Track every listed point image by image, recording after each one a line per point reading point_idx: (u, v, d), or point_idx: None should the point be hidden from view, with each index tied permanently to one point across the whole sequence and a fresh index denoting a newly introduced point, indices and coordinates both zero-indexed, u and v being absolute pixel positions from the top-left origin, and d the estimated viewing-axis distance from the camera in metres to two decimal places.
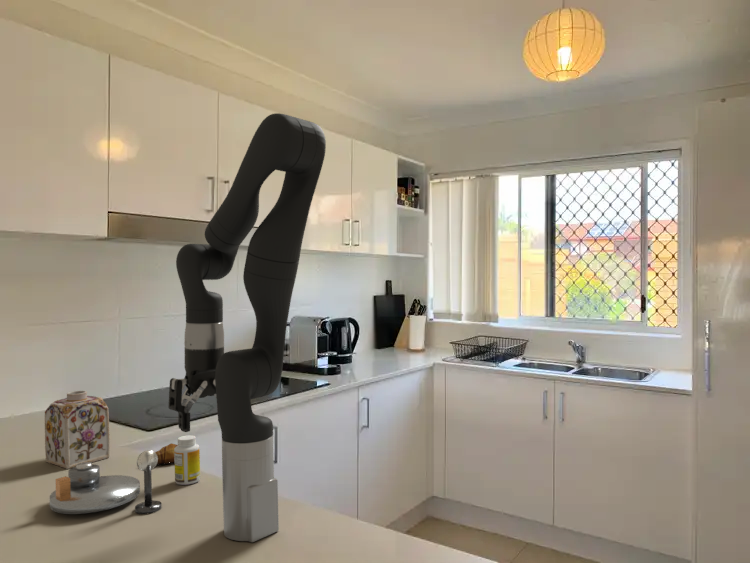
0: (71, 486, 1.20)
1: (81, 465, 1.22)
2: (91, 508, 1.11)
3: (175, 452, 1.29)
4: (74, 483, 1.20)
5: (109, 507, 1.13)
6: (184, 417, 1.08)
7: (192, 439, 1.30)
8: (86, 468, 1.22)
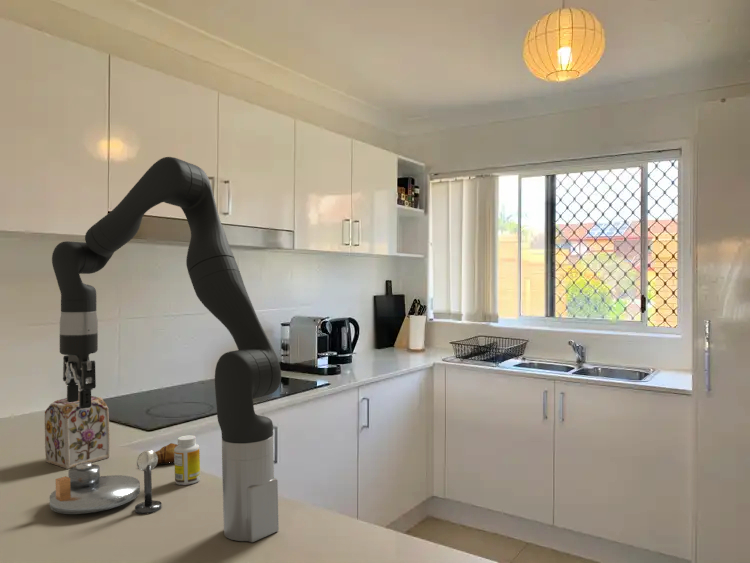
0: (71, 486, 1.20)
1: (81, 465, 1.22)
2: (91, 508, 1.11)
3: (175, 452, 1.29)
4: (74, 483, 1.20)
5: (109, 507, 1.13)
6: None
7: (192, 439, 1.30)
8: (86, 468, 1.22)
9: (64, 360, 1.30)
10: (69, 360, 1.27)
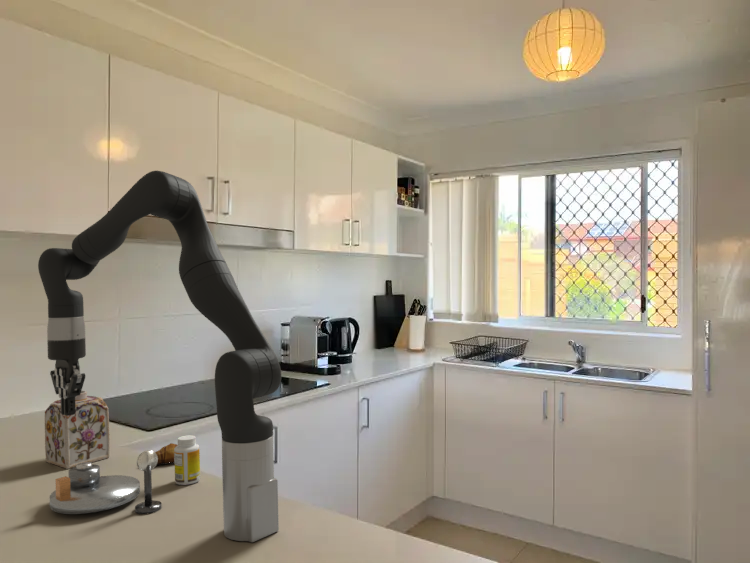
0: (71, 486, 1.20)
1: (81, 465, 1.22)
2: (91, 508, 1.11)
3: (175, 452, 1.29)
4: (74, 483, 1.20)
5: (109, 507, 1.13)
6: None
7: (192, 439, 1.30)
8: (86, 468, 1.22)
9: (52, 375, 1.30)
10: None
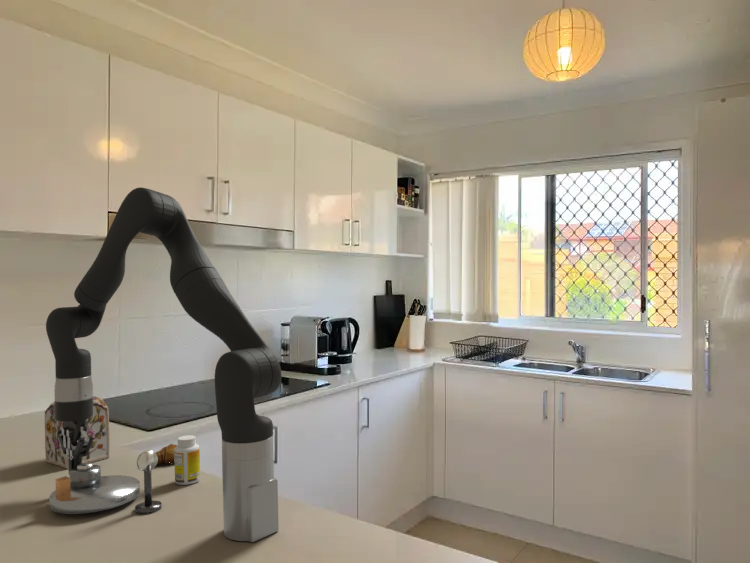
0: (72, 486, 1.20)
1: (82, 465, 1.22)
2: (91, 508, 1.11)
3: (175, 452, 1.29)
4: (75, 484, 1.19)
5: (109, 507, 1.13)
6: None
7: (192, 439, 1.30)
8: (87, 468, 1.21)
9: (59, 434, 1.28)
10: None
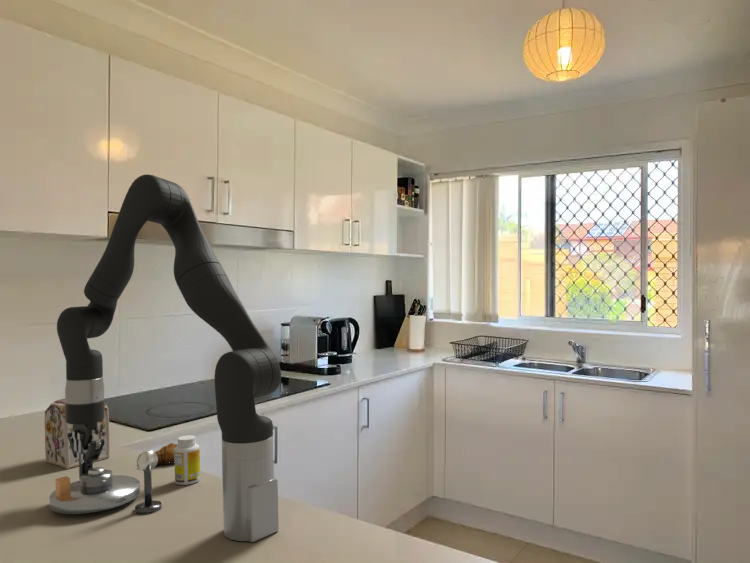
0: (83, 492, 1.16)
1: (93, 470, 1.18)
2: (91, 508, 1.11)
3: (175, 452, 1.29)
4: (86, 489, 1.16)
5: (109, 507, 1.13)
6: None
7: (192, 439, 1.30)
8: (98, 473, 1.18)
9: (69, 437, 1.24)
10: None
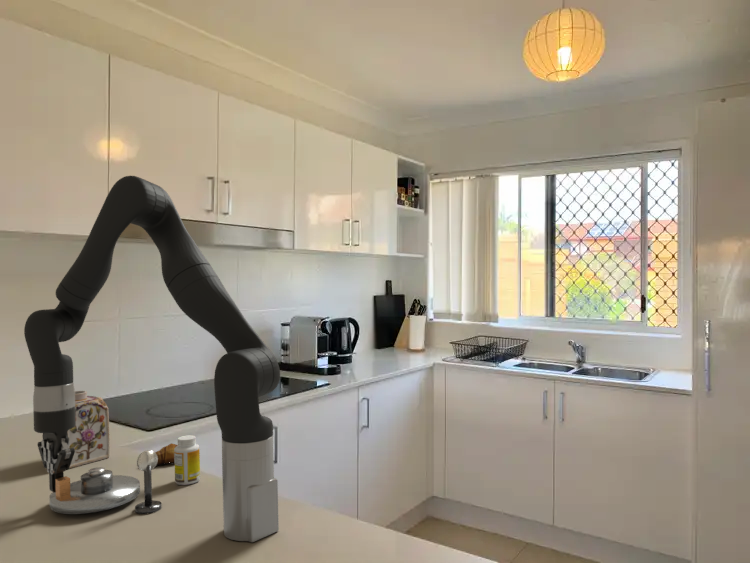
0: (83, 492, 1.16)
1: (94, 470, 1.18)
2: (91, 508, 1.11)
3: (175, 452, 1.29)
4: (87, 489, 1.16)
5: (109, 507, 1.13)
6: None
7: (192, 439, 1.30)
8: (99, 474, 1.18)
9: (39, 446, 1.19)
10: None
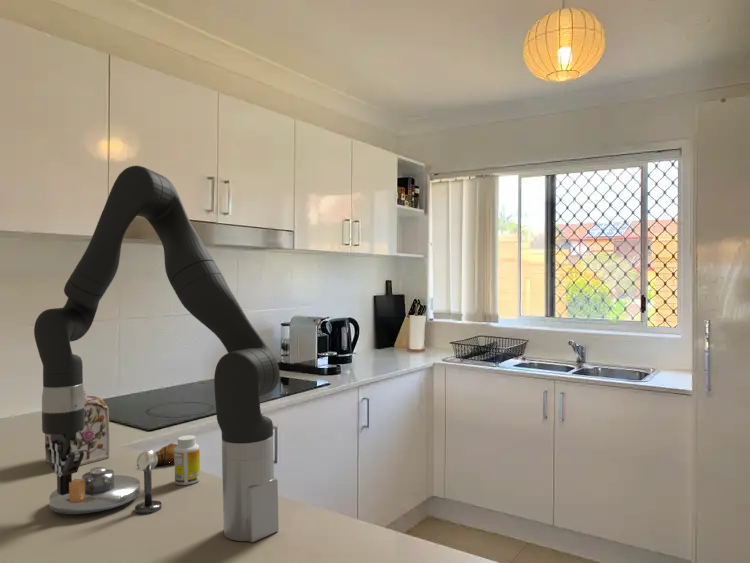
0: (93, 492, 1.16)
1: (98, 470, 1.18)
2: (119, 502, 1.14)
3: (175, 452, 1.29)
4: (97, 488, 1.16)
5: (131, 498, 1.17)
6: None
7: (192, 439, 1.30)
8: (104, 472, 1.19)
9: (47, 448, 1.16)
10: None
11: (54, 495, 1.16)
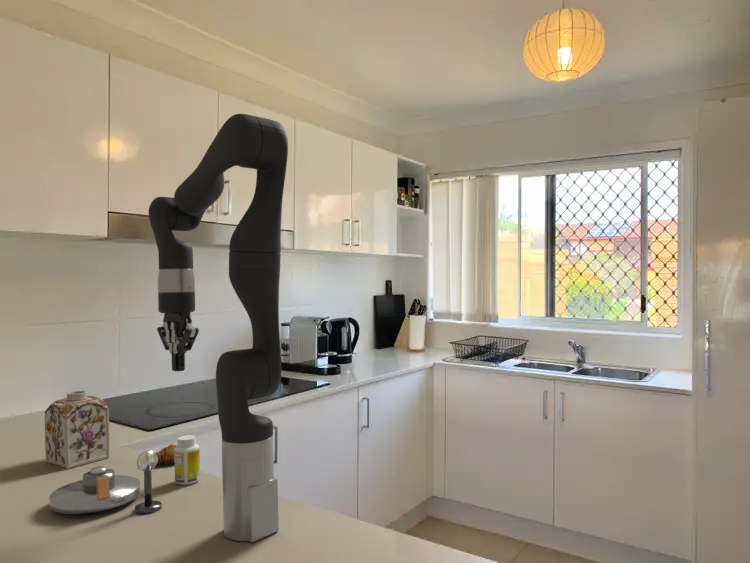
0: None
1: (101, 469, 1.19)
2: (138, 491, 1.20)
3: (175, 452, 1.29)
4: (109, 485, 1.18)
5: None
6: None
7: (192, 439, 1.30)
8: (106, 470, 1.20)
9: (159, 331, 1.25)
10: None
11: (63, 502, 1.12)
